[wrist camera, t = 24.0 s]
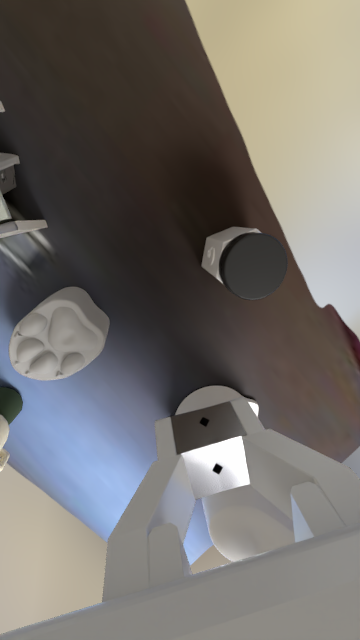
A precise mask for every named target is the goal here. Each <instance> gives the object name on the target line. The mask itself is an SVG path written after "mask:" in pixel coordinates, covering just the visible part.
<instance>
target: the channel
mask: <svg viewBox="0 0 360 640" xmlns="http://www.w3.org/2000/svg"><path fill="white" fill-rule="evenodd" d="M4 111H5V110H4V107H3V105H2V102H1V101H0V112H4ZM47 227H48V226H47V223H46V221H45V220H26V221H12V222H8V223H4V224H0V238H3V237H8V236H12V235H16V234H21V233H25V232H29V231H34V230H38V229H42V228H47Z"/></svg>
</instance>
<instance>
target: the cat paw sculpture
mask: <svg viewBox="0 0 360 640" xmlns="http://www.w3.org/2000/svg"><path fill="white" fill-rule="evenodd" d="M109 324H110V322H109V318H108V316H107V315H106V314H105V313H104V312H103V311H102V310H101V309H100V308H98V307H97V306H96V305H95V303H94V302H93V301H92V299H91V297H90V296H89V295H88V293H87V292H86V291H85V290H83V289H81V288H79V287H66V288H63V289H61V290H59V291H57V292H56V293H54V294H52V295H51V296H49V297H48V298H46V299H45V300H44V301H42V302H41V303H40V304H39V305H38V306H37V307H36V308H34V309H33V310H32V311H31V312H30V313H29V314H28V315H27V316H25V317H24V318H23V319H22V320H21V321H20V322H19V323H18V324H17V325H16V327H15V328H14V331H13V333H12V336H11V340H10V343H9V357H10V361H11V364H12V366H13V367H14V369H15V370H16V371H17V372H19V373H20V374H21V375H23V376H25V377H28V378H32V379H37V380H55V379H61V378H66V377H68V376H71V375H72V374H74V373H76V372H78V371H79V370H81V369H82V368H84V367H85V366H86V365H88V364H89V363H90V362H91V361H92V360H93V359H95V358H96V357H97V356H98V355H99V354H100V353H101V351H102V350H103V348H104V345H105V341H106V337H107V333H108V329H109Z"/></svg>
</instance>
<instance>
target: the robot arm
mask: <svg viewBox="0 0 360 640" xmlns="http://www.w3.org/2000/svg"><path fill="white" fill-rule="evenodd" d="M155 433H156V445H157V456H158V461H155V462H153V463H152V465H151V467H150V468H149V470H148V472H147V473H146V475H145V477H144V479H143V480H142V482H141V484H140V485H139V487H138V489H137V491H136V492H135V494H134V496H133V497H132V499H131V501H130V503H129V504H128V506H127V508H126V509H125V511H124V513H123V514H122V516H121V518H120V520H119V521H118V523H117V525H116V526H115V528H114V530H113V532H112V533H111V535H110V537H109V538H108V546H107V555H106V556H107V557H106V566H105V578H104V588H103V598H102V603H99V604H96V605H93V606H89V607H86V608H83V609H80V610H77V611H73V612H70V613H67V614H64V615H60V616H57V617H54V618H51V619H48V620H44V621H41V622H38V623H35V624H32V625H29V626H25V627H22V628H19V629H16V630H12V631H9V632H6V633H3V634H0V640H360V479H359V478H358V477H357V476H356V474H355V473H354V472H353V471H352V470H351V468H349V467H347V466H345V465H343V464H341V463H339V462H337V461H335V460H333V459H331V458H329V457H327V456H325V455H323V454H321V453H318V452H316V451H314V450H312V449H310V448H308V447H306V446H304V445H302V444H300V443H298V442H296V441H294V440H292V439H290V438H288V437H286V436H284V435H281V434H279V433H277V432H275V431H273V430H271V429H268V430H265V429H264V427H263V425H262V424H261V422H260V421H259V419H258V404H257V402H256V401H254V400H252V399H248V398H245V397H244V396H241V395H240V394H239V393H238V392H236V391H235V390H233V389H231V388H229V387H225V386H208V387H204V388H201V389H198V390H196V391H194V392H193V393H191V394H190V395H188V396H187V397H186V398H185V399H184V400H183V401H182V403H181V404H180V405H179V407H178V409H177V411H176V414H175V415H174V416H171V417H167V418H163V419H160V420H156V421H155ZM200 498H201V499H202V504H203V508H204V513H205V517H206V522H207V526H208V530H209V535H210V537H211V540H212V542H213V543H214V545H215V547H216V548H217V549H218V551H219V552H220V553H222V554H223V555H224V556H225V557H226V558H228V559H229V560H230V561H232V563H228V564H225V565H222V566H219V567H216V568H212V569H209V570H206V571H202V572H199V573H196V574H192V571H191V568H190V565H189V562H188V559H187V556H186V553H185V550H184V547H183V542H184V539H185V536H186V532H187V529H188V526H189V522H190V519H191V516H192V512H193V509H194V506H195V500H197V499H200Z"/></svg>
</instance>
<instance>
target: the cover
mask: <svg viewBox="0 0 360 640" xmlns="http://www.w3.org/2000/svg"><path fill="white" fill-rule="evenodd" d="M11 218H12V217H11V215H10V212H9V210H8V208H7V205H6V203H5V200H4V198H3V195H2V193H1V190H0V221H2V220H7V219H11Z"/></svg>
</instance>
